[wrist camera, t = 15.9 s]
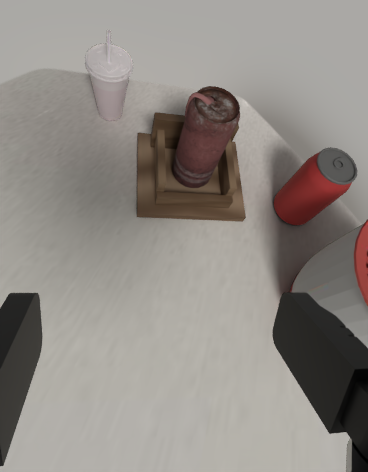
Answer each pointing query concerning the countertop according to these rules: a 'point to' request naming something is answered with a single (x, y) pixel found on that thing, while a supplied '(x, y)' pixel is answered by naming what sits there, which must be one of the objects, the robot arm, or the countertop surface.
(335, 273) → the citrus juicer
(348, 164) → the beer can
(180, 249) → the countertop surface
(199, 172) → the can
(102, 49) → the smoothie
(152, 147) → the dock
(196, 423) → the countertop surface
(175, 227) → the countertop surface
